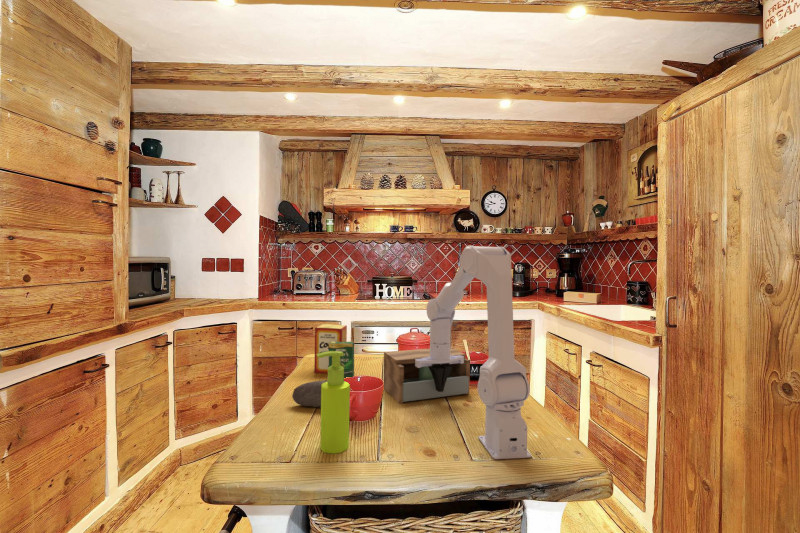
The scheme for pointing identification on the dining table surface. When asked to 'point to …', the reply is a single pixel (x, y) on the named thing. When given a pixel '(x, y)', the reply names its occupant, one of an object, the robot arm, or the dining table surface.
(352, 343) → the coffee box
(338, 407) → the soap dispenser
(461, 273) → the robot arm
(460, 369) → the wooden drawer box
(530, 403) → the dining table surface
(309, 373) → the dining table surface
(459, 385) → the drawer tray
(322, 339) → the red food box
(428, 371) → the sea green cylinder
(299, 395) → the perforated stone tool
